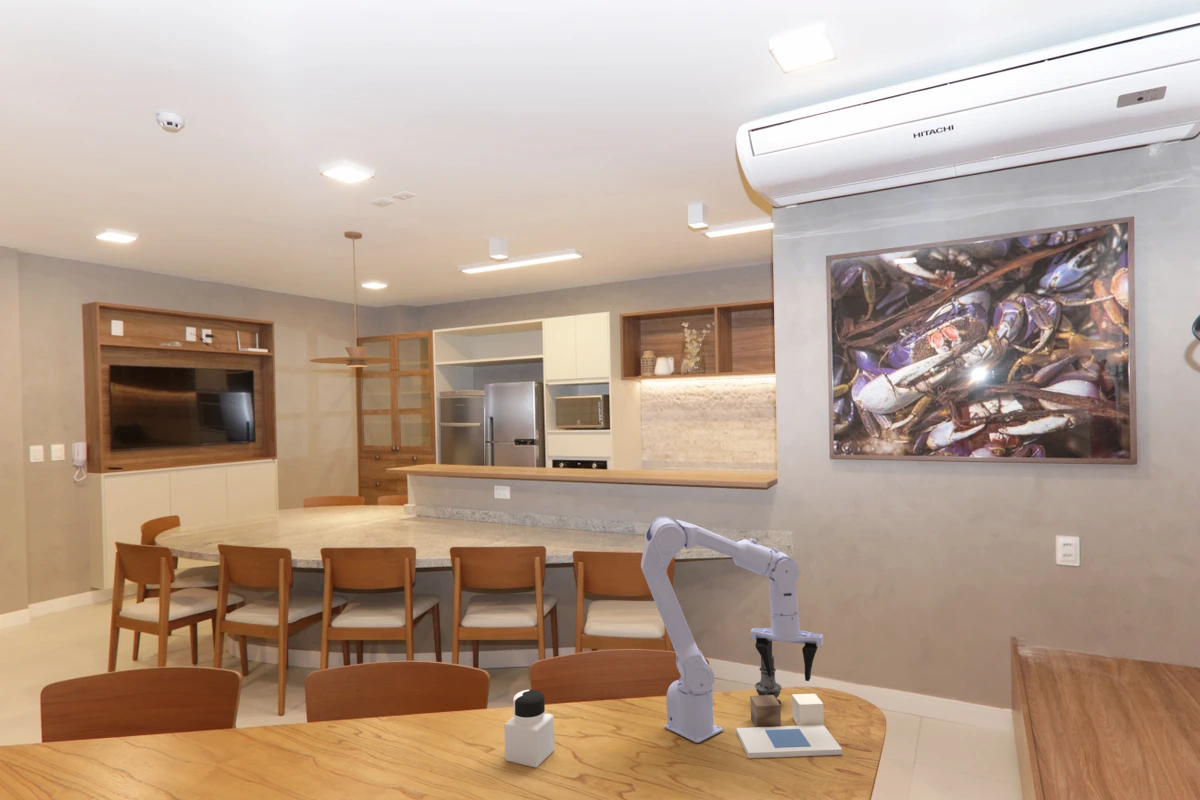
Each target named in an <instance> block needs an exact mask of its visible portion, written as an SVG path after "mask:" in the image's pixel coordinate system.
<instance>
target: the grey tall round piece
mask: <svg viewBox="0 0 1200 800" xmlns="http://www.w3.org/2000/svg"><path fill="white" fill-rule="evenodd" d="M772 660H773V674H772V676H768V674H767V670H766V667H765V664H764V661H763V659H762V657H761V656H760V667H759V671H760V681H758V682H756V683H755V684H754V688H755V689H756V693H757V694H758V695H757V696H760V695H774V696H775V698H776V699H777V701H778V702H779V704H780V705H781V701H780V700H779V699H778V697H780V694H781V690H782V685H781V684H779V683H778V682H776V676H775V675H776V671H777V669H776V668H775V656H774V655H773V654H772Z"/></svg>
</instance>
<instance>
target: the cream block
mask: <svg viewBox="0 0 1200 800" xmlns="http://www.w3.org/2000/svg"><path fill="white" fill-rule="evenodd" d="M791 704H792V705H791V707H792V719H793V720H794V722H795V723H796V726H806V725H824V726H825V714H824V713H825V712H824V711H825V710H824V706H825V705H824V703H823V702H822V700H821V699H820V698H819V697H818V695H817V694H816V693H795V694H793V693H792V694H791Z"/></svg>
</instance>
